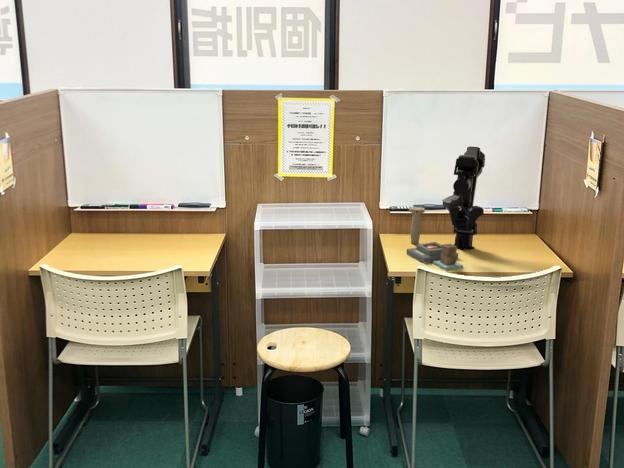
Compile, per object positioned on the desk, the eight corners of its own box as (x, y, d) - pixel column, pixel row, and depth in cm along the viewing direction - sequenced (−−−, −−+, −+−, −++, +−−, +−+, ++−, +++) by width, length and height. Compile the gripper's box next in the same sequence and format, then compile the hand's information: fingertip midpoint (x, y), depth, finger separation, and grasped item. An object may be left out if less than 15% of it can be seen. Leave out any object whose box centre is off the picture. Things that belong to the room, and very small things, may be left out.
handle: (422, 245, 280) (425, 210, 275) (407, 244, 280) (409, 209, 276) (422, 241, 284) (424, 207, 280) (406, 241, 285) (409, 206, 281)
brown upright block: (449, 261, 258) (450, 243, 256) (455, 264, 254) (456, 246, 252) (440, 262, 256) (441, 244, 254) (446, 265, 253) (448, 247, 251)
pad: (450, 261, 261) (450, 258, 260) (462, 267, 254) (463, 265, 253) (432, 263, 257) (433, 261, 257) (445, 270, 251) (445, 267, 250)
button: (433, 253, 269) (434, 244, 268) (439, 256, 265) (440, 248, 264) (424, 254, 267) (424, 246, 266) (430, 258, 264) (431, 249, 263)
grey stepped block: (439, 249, 275) (440, 240, 274) (457, 258, 264) (458, 248, 263) (406, 253, 268) (407, 244, 267) (423, 263, 258) (424, 253, 257)
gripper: (432, 185, 263) (429, 223, 267) (461, 195, 246) (458, 236, 251) (456, 183, 267) (452, 221, 272) (486, 193, 251) (482, 233, 255)
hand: (460, 227), depth 262 cm, fingers open, 9 cm apart
